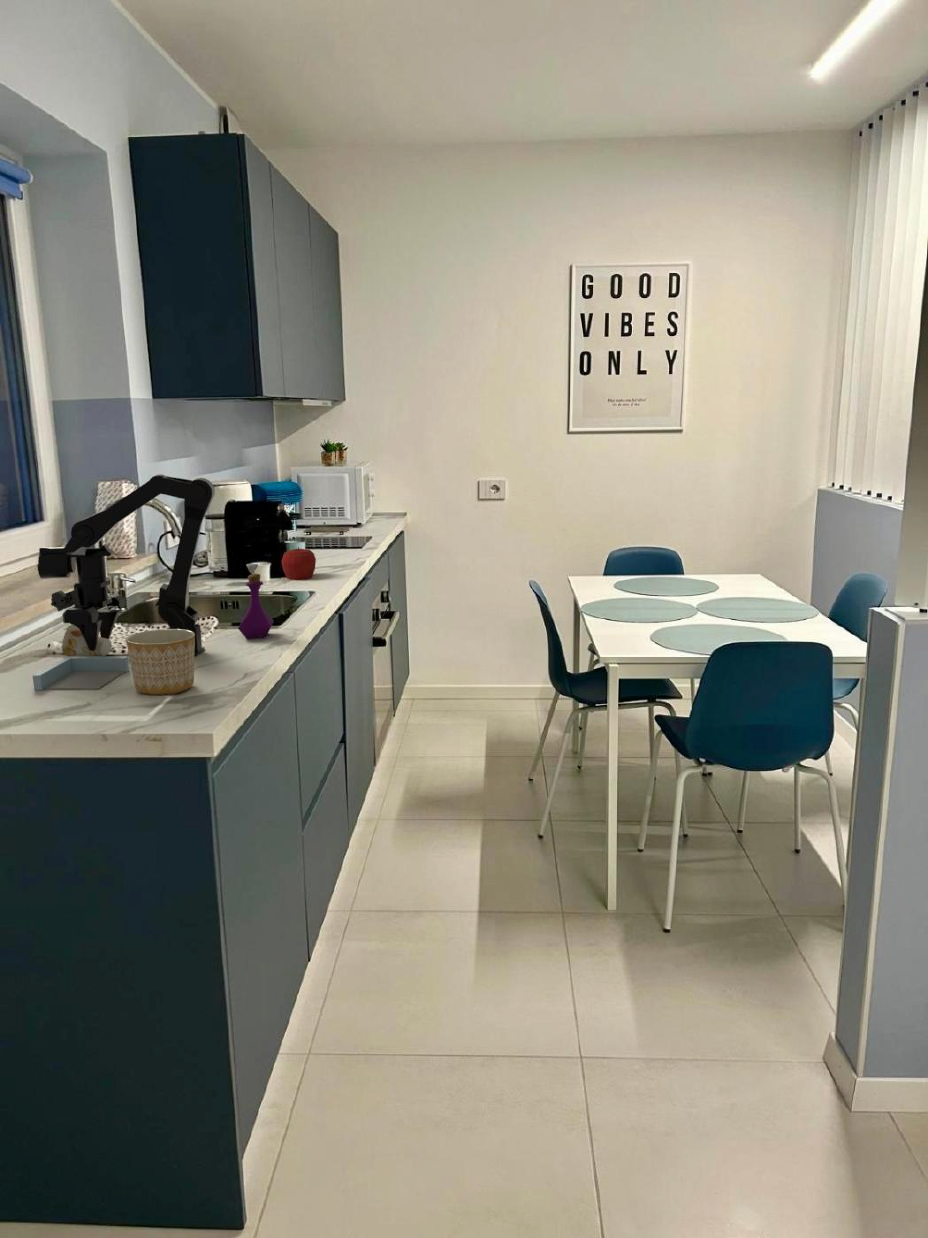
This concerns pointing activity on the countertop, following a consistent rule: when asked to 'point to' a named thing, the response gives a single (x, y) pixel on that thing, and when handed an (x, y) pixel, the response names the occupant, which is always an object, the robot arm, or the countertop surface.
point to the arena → (77, 668)
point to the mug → (83, 644)
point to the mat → (85, 680)
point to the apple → (298, 564)
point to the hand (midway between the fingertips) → (98, 646)
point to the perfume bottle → (255, 610)
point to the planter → (162, 660)
